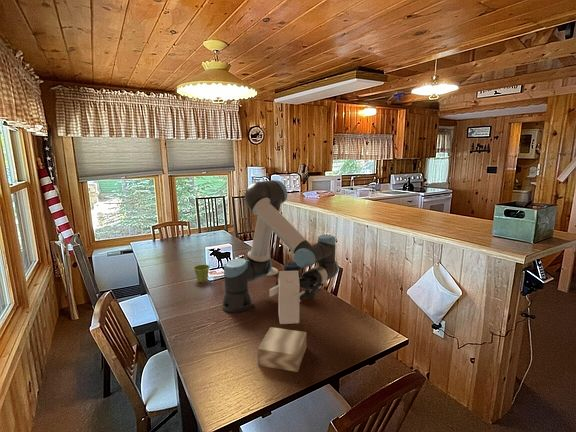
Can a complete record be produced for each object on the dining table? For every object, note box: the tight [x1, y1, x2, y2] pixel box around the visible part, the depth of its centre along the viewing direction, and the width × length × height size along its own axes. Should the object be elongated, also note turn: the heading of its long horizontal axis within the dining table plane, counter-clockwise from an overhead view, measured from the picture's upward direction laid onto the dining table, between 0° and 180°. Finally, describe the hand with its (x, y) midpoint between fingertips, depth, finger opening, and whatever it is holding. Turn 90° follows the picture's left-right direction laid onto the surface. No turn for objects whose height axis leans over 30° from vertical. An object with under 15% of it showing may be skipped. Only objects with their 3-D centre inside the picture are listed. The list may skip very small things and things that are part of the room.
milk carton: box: [277, 270, 300, 325], centre depth 117 cm, size 7×7×19 cm
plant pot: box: [193, 264, 211, 283], centre depth 193 cm, size 9×9×9 cm
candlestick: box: [265, 244, 279, 277], centre depth 205 cm, size 13×13×30 cm
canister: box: [283, 261, 303, 293], centre depth 174 cm, size 10×10×18 cm
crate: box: [257, 326, 307, 373], centre depth 121 cm, size 15×15×7 cm
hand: (281, 297), depth 114 cm, fingers closed on milk carton, 10 cm apart
